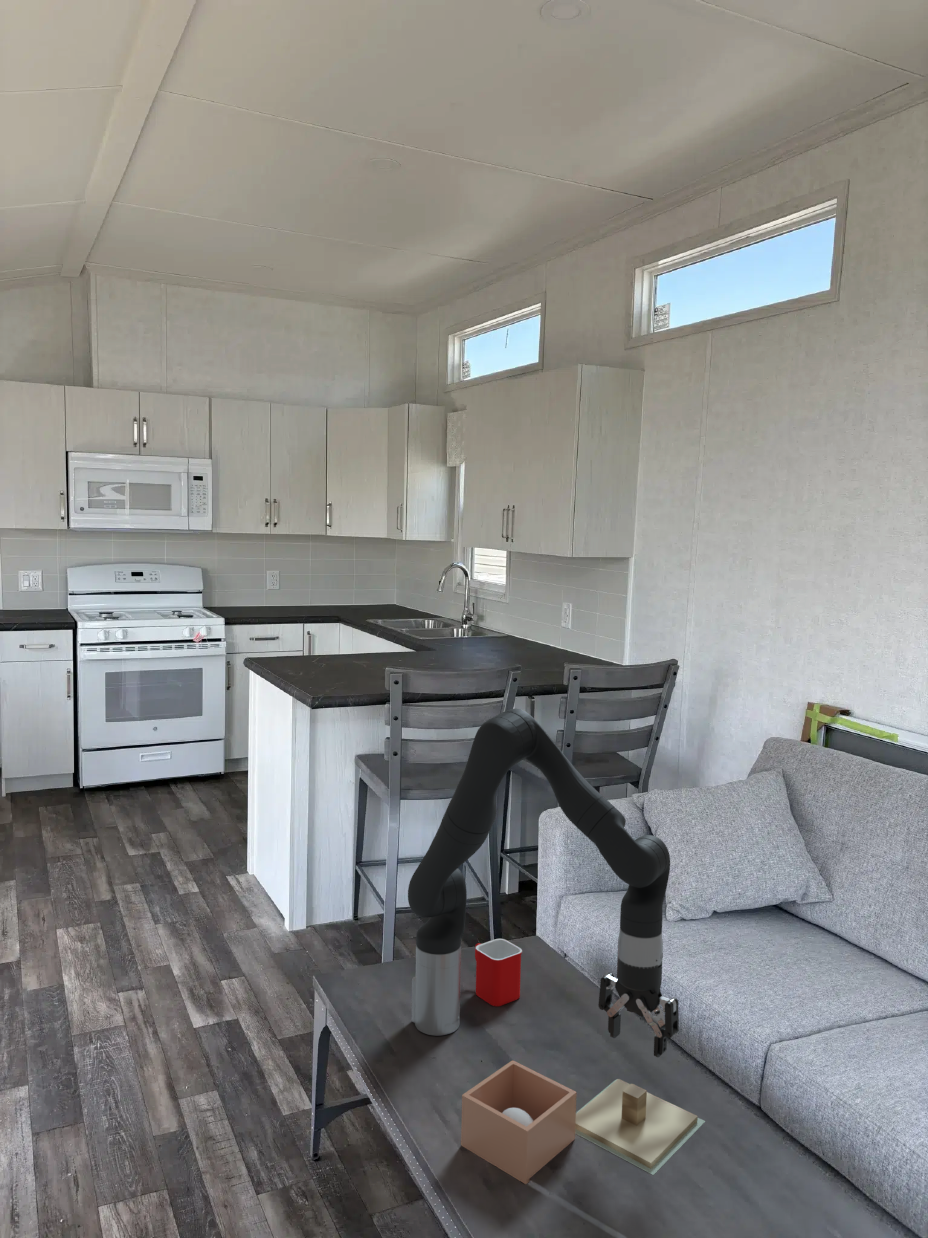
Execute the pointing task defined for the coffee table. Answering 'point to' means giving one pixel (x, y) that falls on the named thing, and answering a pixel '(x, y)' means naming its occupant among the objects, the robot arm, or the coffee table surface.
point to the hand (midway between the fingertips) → (636, 1045)
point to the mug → (498, 971)
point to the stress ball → (518, 1116)
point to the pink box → (508, 1138)
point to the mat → (630, 1160)
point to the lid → (634, 1122)
